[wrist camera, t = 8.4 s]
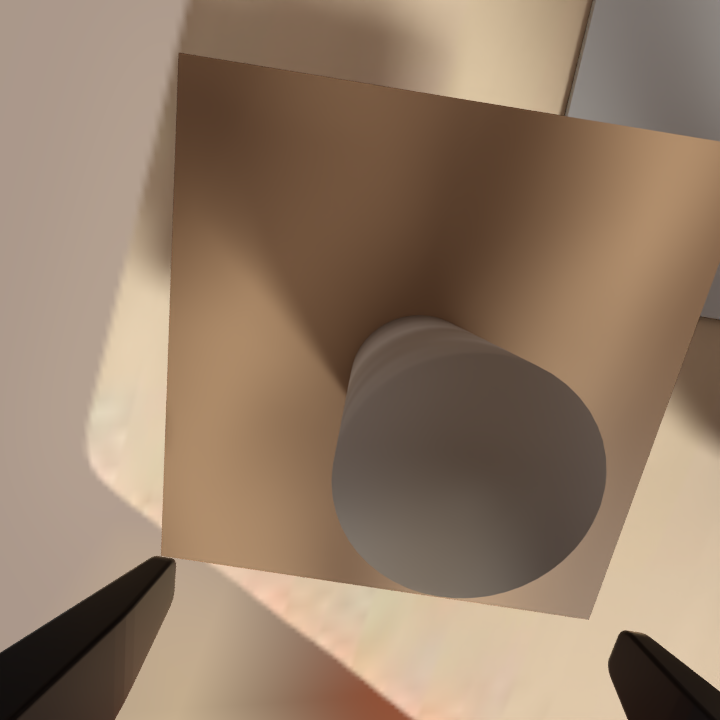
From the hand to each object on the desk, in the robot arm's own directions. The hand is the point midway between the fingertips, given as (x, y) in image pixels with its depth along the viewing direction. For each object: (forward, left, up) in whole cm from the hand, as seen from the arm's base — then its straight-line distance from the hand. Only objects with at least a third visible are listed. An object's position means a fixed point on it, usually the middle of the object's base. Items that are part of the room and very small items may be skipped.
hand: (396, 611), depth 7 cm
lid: (0, -4, -3) cm, 5 cm away
